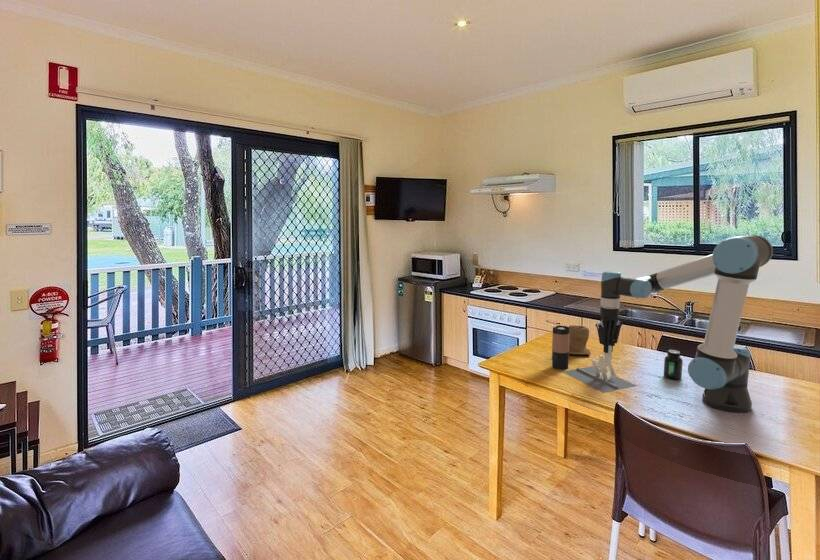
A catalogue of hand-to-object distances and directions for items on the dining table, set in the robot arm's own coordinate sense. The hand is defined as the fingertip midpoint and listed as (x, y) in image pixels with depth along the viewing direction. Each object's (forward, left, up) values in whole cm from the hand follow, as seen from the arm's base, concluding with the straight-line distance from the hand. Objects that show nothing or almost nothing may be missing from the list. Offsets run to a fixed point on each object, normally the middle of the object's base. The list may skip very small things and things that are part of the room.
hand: (607, 359), depth 188 cm
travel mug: (+20, +9, -10) cm, 24 cm away
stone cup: (+35, -12, -10) cm, 38 cm away
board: (+2, +3, -9) cm, 10 cm away
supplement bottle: (-9, -28, -10) cm, 31 cm away
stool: (0, +1, -8) cm, 8 cm away
